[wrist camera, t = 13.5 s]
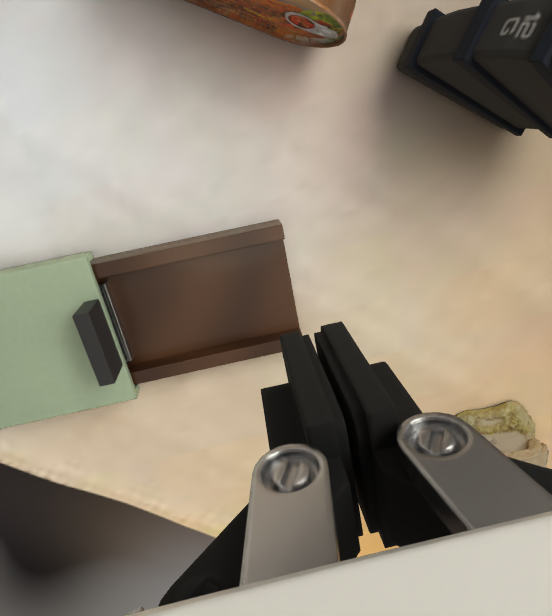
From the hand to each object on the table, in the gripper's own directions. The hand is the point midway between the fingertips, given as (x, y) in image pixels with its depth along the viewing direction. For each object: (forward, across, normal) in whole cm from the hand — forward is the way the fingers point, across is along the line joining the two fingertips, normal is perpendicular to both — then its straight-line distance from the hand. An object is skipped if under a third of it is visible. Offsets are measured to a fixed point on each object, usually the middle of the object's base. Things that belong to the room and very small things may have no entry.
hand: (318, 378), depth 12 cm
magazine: (+27, -19, -6) cm, 34 cm away
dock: (+27, +13, +6) cm, 31 cm away
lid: (+26, +21, +6) cm, 33 cm away
